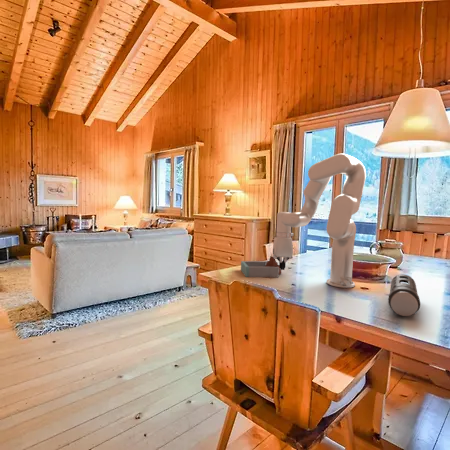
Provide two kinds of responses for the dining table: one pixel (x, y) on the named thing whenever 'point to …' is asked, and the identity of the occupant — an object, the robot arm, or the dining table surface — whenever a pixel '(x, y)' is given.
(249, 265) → the grey tray
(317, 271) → the dining table surface
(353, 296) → the dining table surface
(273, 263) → the poop emoji
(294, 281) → the dining table surface
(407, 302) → the muzzle brake
